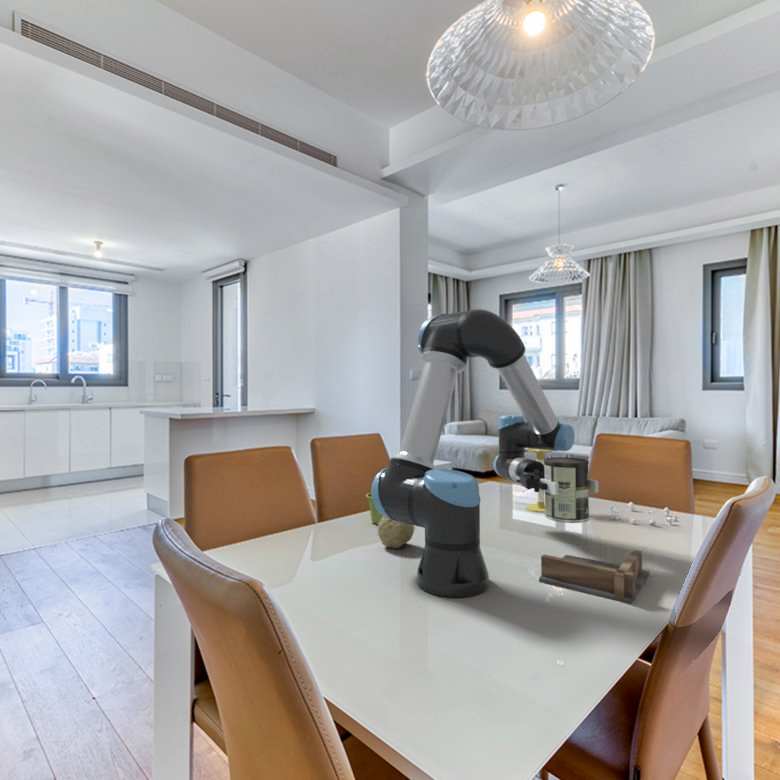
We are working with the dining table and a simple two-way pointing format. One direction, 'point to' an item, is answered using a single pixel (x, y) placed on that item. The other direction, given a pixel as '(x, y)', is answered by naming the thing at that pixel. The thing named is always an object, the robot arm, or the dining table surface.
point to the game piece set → (631, 505)
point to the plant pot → (373, 510)
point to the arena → (596, 575)
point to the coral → (394, 532)
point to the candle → (540, 495)
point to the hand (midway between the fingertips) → (577, 488)
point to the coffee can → (567, 490)
